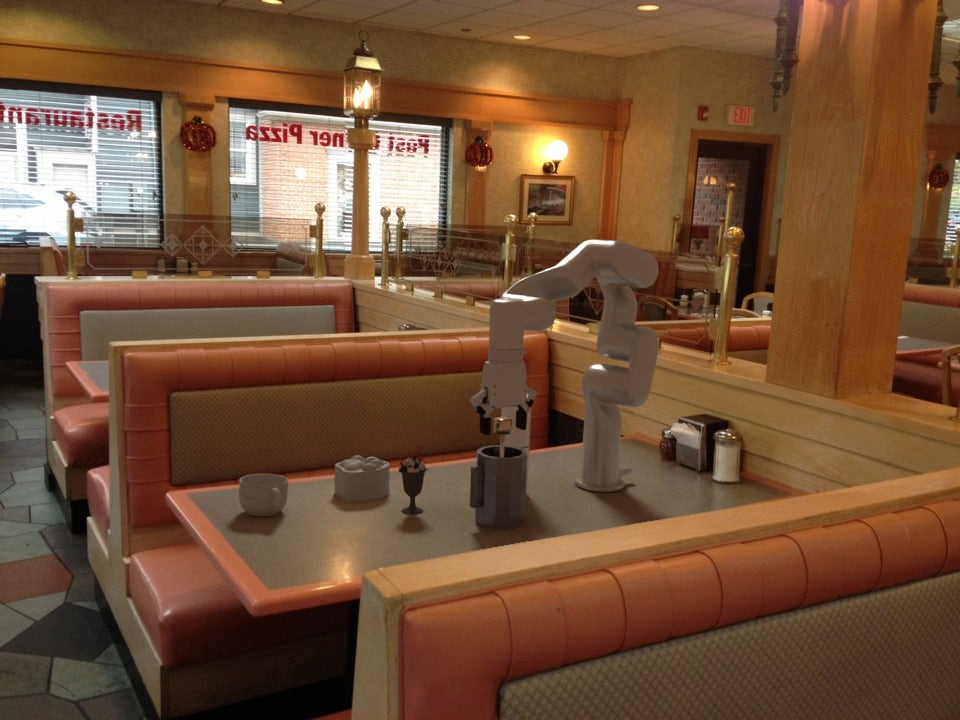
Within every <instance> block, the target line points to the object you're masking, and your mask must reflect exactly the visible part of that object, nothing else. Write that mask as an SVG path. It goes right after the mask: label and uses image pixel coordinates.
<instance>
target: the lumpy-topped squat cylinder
mask: <svg viewBox="0 0 960 720" xmlns="http://www.w3.org/2000/svg"><path fill="white" fill-rule="evenodd" d="M390 467H391V466H390V462H388V461H386V460H384V459H380V458H378V457H376V456H368V457H366V458H364V457H363V456H361V455H358V454H357V455H353V456H352V457H351V458H350V459H344V460H342V461H340V462H337V463H335V465H334V495H336V496H337V497H339V498H340V499H341V500H342V501H344V502H349V503H350V502H353V503H355V502H356V503H357V502H365V501H371V500H377V499H381V498H383V496H384V497H385V495H386V496H387V495H388V494H389V493H390V476H391V475H390V474H391V473H390V469H391V468H390Z"/></svg>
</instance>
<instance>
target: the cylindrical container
mask: <svg viewBox="0 0 960 720" xmlns="http://www.w3.org/2000/svg"><path fill="white" fill-rule="evenodd" d="M527 398H528V393H527ZM516 410H519V409H518V408H517V406H511V407H504V408H501V415H500V417H507V418H511V419H512V433H511V434H507V435H505V445H504V446H512V447H518V448H521V449H523V450H526V452H527V473H526V497H527V496H528V486H529V468H530V467H529V465H530V463H529V462H530V461H529V460H530V444H531V443H530V440H531V438H530V435H531V419H532V418H531V414H532V406H531V407H530V411H529V412H527V424H526V430H521V429H519V428H516Z"/></svg>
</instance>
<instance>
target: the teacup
mask: <svg viewBox="0 0 960 720" xmlns="http://www.w3.org/2000/svg"><path fill="white" fill-rule="evenodd" d="M289 480H290V479H289V478H288V477H286V476H284V475H280V474H274V473H252V474H247V475H244V476H241V477H240V478H239V479H238V482H239V485H238V488H239V490H238V491H239V493H238V494H239V495H238V496H239V497H238V498H239V504H240V507H241V508H242V509H243V510H244V511H245V512H246V513H247V514H248V515H250V516H255V517H270V516H274V515H277V514H278V513H279V512H280V511H281V510H283V509H284V508H285V507H286V505H287V501H288V491H289V488H288V487H289Z"/></svg>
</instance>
